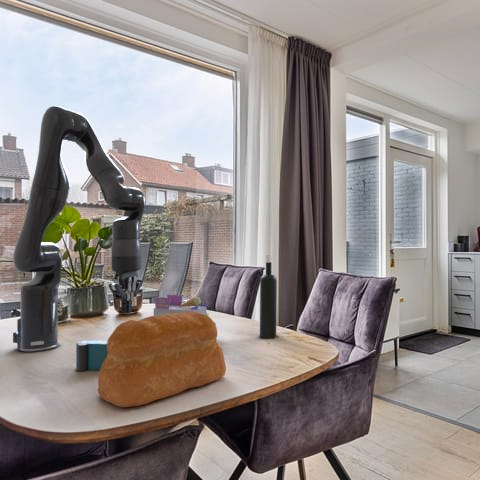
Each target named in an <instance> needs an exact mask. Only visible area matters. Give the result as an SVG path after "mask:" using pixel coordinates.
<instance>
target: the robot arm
mask: <svg viewBox="0 0 480 480" xmlns="http://www.w3.org/2000/svg"><path fill="white" fill-rule="evenodd" d="M63 141H66V142H72V143H75V144H76V146H78V147H79V148H80V149H81V150H82V151H83V153H84V154H85V155H84V156H85V157H84V161H85V166H86V169H87V171H88V173H89V174H90V176H91V177H92V178H93V180H94V181H95V182H96V183H97V184H98V185H99V189H100V192H101V195H102V197H103V200H104V202H105V203H106V205H107V206H108V207H110V208H111V209H113V210H116V211H124V213H123V214H122V217H121V218H117V219H115V220H113V222H112V227H111V228H112V229H111V230H112V235H111V236H112V240H111V249H110V251H111V271H113V272H114V273H115V275H114V281H113V283H109V284H108V288H109V290H110V292H111V294H112V295H113V297H114V298H115V300H116V301H117V300H118V301H120V305H121V306H120V308H121V309H120V310H121V313H122V314H123V315H125V314H131V313H132V312H133V300H134V299H135V298H137V296H138V294H139V291H140V289H141V287H142V284H143V282H144V281H143V279H142V278H140V279H139V278H138V277H139V275H138V271H140V270H141V269H142V245H141V227H140V226H141V223H142V220H143V216H144V213H145V210H146V203H147V201H146V196H145V193H144V192H143V191H142V190H141V189H139V188H137V187H131V186H123V184H124V183H125V176H124V174H123V172H121V170H120V169H119V168H118V166H117V165H116V164H115V163H114V161H113V160H112V159H111V157H110V156H109V155H108V154H107V152H106V149H105V148H104V147H103V145H102V143H101V141H100V138H98V135H97V134H96V132H95V130H94V128H93V126H92V125H91V123H90V121H89V120H88V118H87V117H86V116H84V115H83V114H81V113H79V112H77V111H74V110H70V109H67V108H64V107H62V106H57V105H52V106H49V107H47V109H45V111H44V112H43V116H42V119H41V123H40V134H39V145H38V153H37V159H36V165H35V170H34V175H33V179H32V181H31V182H32V183H31V188H30V192H29V196H28V203H27V208H26V212H25V215H24V220H23V224H22V227H21V229H20V232H19V235H18V239H17V241H16V243H15V247H14V250H13V257H12V261H13V265H14V267H15V269H16V270H17V271H18V272H19V273H24V274H28V273H29V274H30V273H31V274H32V273H35V274H34V276H33V277H32V279H30V280H29V281H28V282H26V283H24V284H22V285H21V286H20V318H18V319H17V320H16V323H17V324H16V325H17V326H16V331H15V332H12V343H13V344H16V350H17V351H20V352H25V353H29V352H41V351H48V350H52V349H55V348H57V347H58V346H59V341H58V340H59V335H58V334H59V320H58V319H59V302H58V301H59V294H58V293H59V292H58V291H59V287H60V284H61V280H62V265H63V255H62V251H61V248H60V247H59V245H57V243H54V242H50V241H49V242H47V241H46V242H44V241H43V240H44V235H45V233H46V231H47V229H48V228H49V226H50V225H51V224H52V223H53V222H54V220H56V218H57V217H58V216H59V215H60V214H61V213H62V211H64V209H65V207H66V205H67V202H68V197H69V194H70V187H71V183H70V179H69V176H68V172H67V170H66V167H65V164H64V162H63V158H62V150H63V149H62V148H63Z"/></svg>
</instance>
